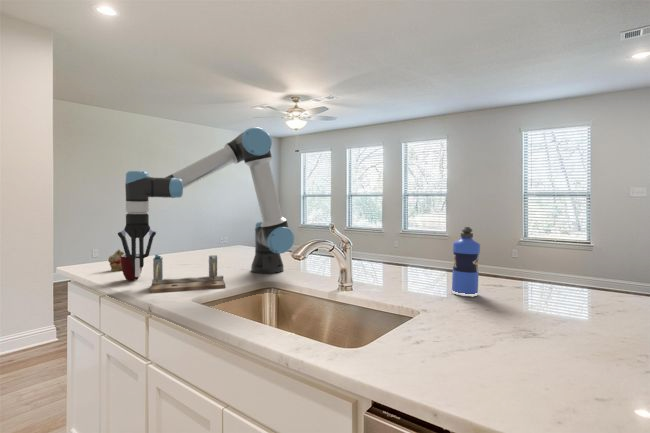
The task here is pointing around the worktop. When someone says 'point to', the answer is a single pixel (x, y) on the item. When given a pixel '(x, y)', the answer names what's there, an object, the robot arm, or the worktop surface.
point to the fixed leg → (213, 266)
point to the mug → (128, 268)
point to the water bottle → (465, 263)
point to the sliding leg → (157, 268)
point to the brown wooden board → (187, 284)
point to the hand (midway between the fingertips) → (137, 276)
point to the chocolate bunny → (116, 261)
